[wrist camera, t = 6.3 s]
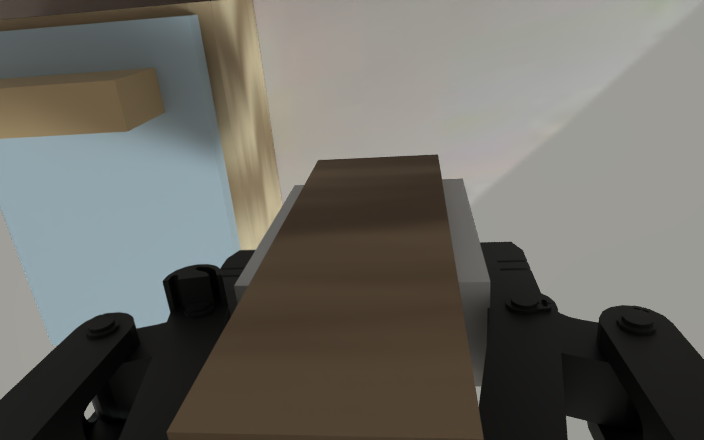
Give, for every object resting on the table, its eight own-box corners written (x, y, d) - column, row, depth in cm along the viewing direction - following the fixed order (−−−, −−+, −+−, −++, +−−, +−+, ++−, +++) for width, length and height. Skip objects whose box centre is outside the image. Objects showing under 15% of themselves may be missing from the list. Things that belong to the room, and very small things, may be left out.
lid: (-47, 35, 24) (-138, 44, 20) (197, 14, 23) (151, 20, 19) (62, 334, 31) (9, 387, 27) (256, 333, 30) (232, 389, 26)
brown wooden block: (318, 160, 18) (165, 432, 7) (437, 154, 17) (483, 439, 6) (329, 264, 19) (221, 623, 8) (439, 262, 19) (478, 640, 8)
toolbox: (40, 17, 31) (-56, 24, 25) (252, -2, 29) (208, 1, 23) (141, 357, 41) (92, 425, 35) (304, 357, 39) (283, 429, 33)
